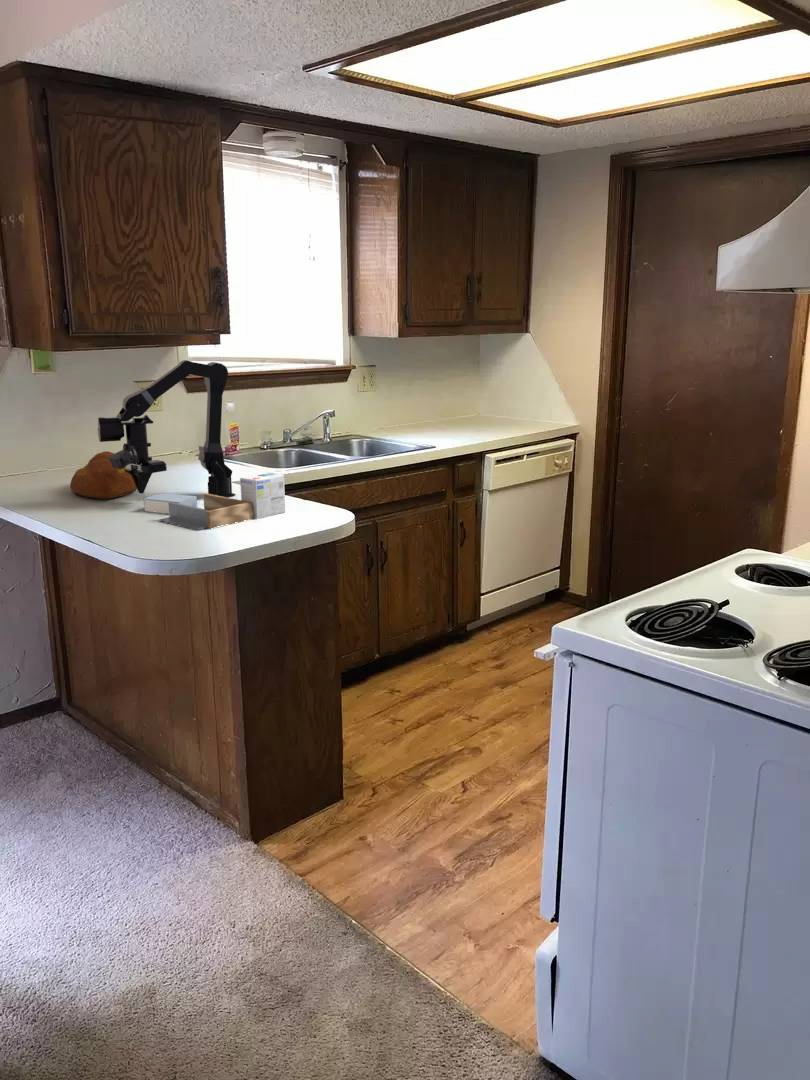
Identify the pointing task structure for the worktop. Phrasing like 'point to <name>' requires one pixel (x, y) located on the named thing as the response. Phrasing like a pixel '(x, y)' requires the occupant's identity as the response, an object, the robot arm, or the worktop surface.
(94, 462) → the bread
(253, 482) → the light bulb box
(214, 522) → the oak shelf corner
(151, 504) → the boxed book
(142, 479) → the robot arm
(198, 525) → the grey angle iron
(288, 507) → the worktop surface
